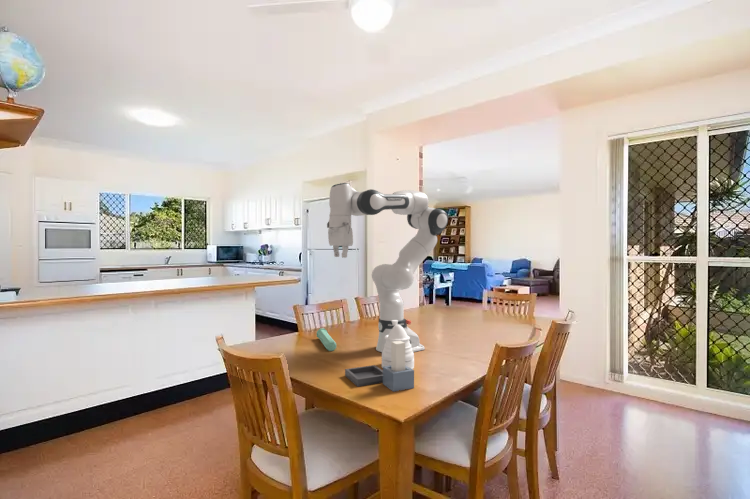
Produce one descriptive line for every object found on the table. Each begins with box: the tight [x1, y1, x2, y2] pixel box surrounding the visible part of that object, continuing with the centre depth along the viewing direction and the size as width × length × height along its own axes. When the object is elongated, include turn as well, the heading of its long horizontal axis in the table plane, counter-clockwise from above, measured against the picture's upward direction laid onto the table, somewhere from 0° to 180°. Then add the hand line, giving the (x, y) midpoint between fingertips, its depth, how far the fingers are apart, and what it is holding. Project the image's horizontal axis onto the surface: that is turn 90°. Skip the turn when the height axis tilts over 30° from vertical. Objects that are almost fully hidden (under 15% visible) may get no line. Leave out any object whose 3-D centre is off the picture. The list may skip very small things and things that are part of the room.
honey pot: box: [381, 320, 415, 370], centre depth 157 cm, size 13×13×18 cm
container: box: [316, 327, 337, 352], centre depth 190 cm, size 6×6×25 cm
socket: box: [382, 365, 415, 392], centre depth 135 cm, size 8×8×6 cm
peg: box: [391, 341, 405, 372], centre depth 135 cm, size 4×4×15 cm
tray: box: [344, 364, 383, 388], centre depth 143 cm, size 12×12×2 cm
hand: (340, 257), depth 161 cm, fingers open, 8 cm apart
